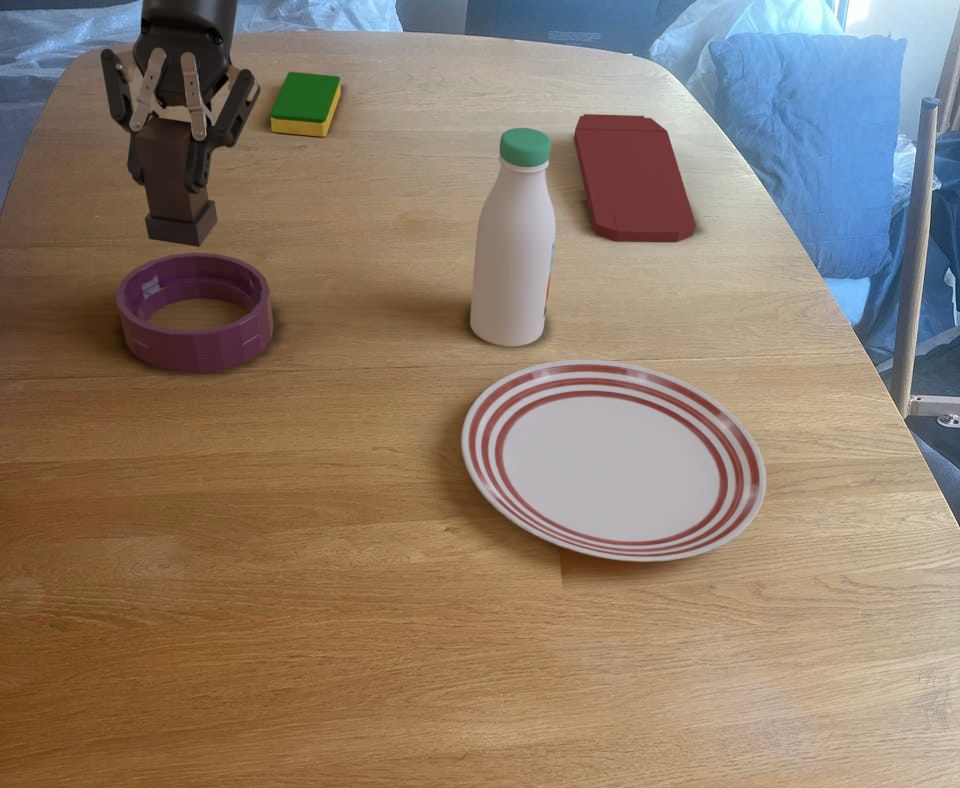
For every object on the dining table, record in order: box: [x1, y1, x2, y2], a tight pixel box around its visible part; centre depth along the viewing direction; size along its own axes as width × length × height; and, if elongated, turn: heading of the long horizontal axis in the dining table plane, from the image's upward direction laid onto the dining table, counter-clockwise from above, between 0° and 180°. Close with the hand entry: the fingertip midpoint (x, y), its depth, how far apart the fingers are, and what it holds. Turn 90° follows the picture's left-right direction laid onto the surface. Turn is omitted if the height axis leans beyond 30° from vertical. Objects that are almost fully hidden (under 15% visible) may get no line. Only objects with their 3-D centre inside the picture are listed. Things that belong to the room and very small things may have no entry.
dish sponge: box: [269, 71, 342, 138], centre depth 133 cm, size 7×14×2 cm, turn 177°
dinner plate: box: [460, 358, 767, 563], centre depth 90 cm, size 28×27×3 cm
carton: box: [573, 113, 697, 243], centre depth 126 cm, size 12×5×25 cm
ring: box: [115, 252, 274, 374], centre depth 98 cm, size 14×14×5 cm
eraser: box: [135, 117, 219, 248], centre depth 88 cm, size 5×5×9 cm
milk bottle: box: [469, 127, 556, 347], centre depth 97 cm, size 8×8×20 cm
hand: (166, 185), depth 86 cm, fingers closed on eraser, 4 cm apart
